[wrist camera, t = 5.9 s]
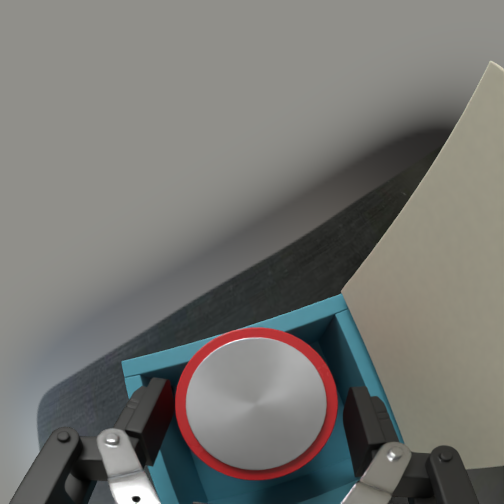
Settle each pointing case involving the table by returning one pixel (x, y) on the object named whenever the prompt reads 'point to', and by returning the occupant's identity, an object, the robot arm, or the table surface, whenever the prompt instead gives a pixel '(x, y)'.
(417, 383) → the lid
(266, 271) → the table surface
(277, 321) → the teal open box
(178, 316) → the table surface
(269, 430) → the drinks can
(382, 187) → the table surface
